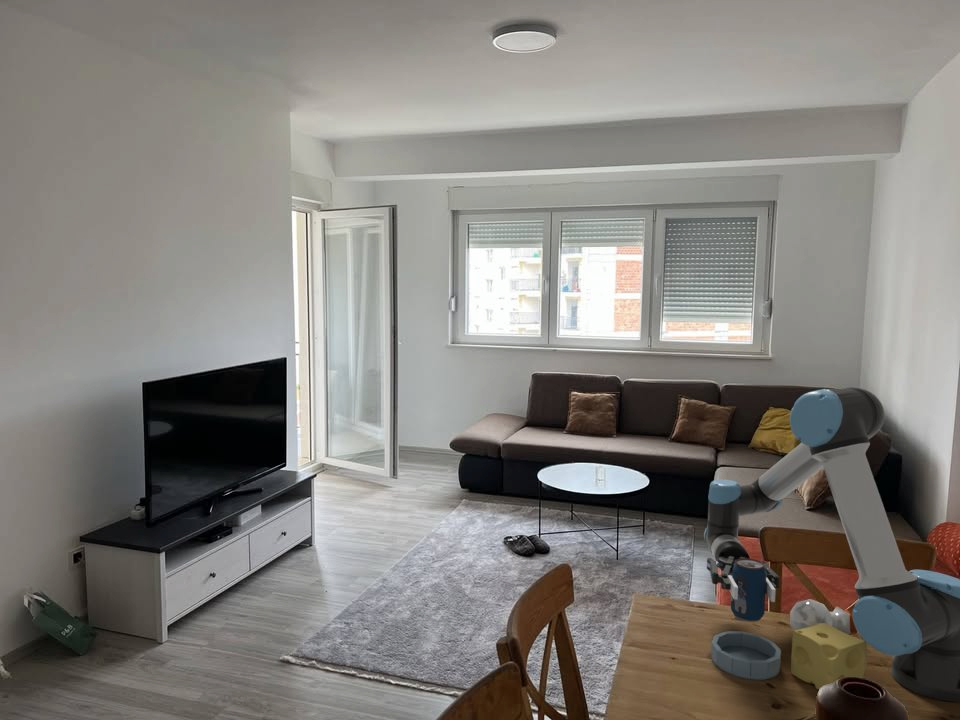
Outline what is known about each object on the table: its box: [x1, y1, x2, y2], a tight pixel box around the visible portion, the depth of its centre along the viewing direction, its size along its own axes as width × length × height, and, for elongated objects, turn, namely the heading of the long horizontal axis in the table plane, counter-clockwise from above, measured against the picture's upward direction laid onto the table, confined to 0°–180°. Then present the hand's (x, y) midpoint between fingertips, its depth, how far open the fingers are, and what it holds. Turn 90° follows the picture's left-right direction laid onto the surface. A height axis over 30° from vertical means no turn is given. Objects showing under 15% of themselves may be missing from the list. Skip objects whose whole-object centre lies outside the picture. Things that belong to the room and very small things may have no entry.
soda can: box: [730, 558, 766, 623], centre depth 156 cm, size 7×7×12 cm
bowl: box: [710, 630, 782, 681], centre depth 157 cm, size 14×14×4 cm
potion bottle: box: [789, 598, 858, 636], centre depth 169 cm, size 9×10×15 cm
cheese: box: [790, 623, 868, 690], centre depth 150 cm, size 10×11×10 cm
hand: (754, 594), depth 151 cm, fingers closed on soda can, 7 cm apart
